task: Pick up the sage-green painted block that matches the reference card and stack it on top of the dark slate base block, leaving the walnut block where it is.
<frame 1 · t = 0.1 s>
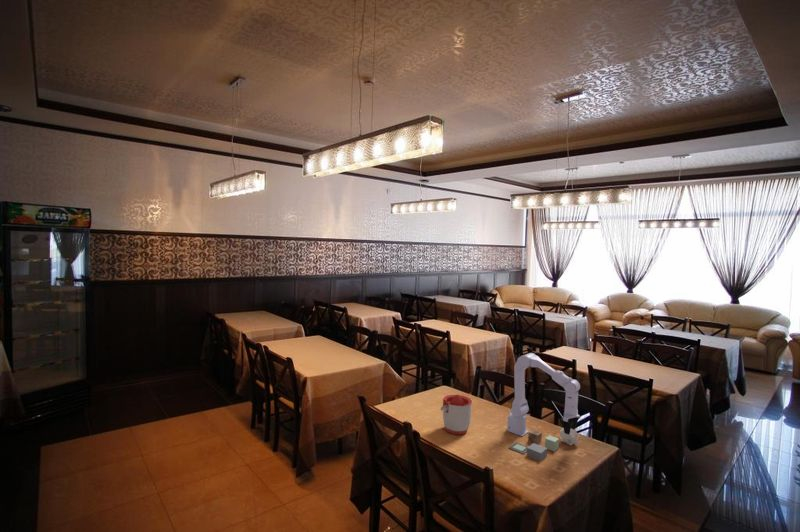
hand: (569, 431, 196), 10 cm above the table, fingers open, 7 cm apart
slate base: (536, 456, 191), on the table
grey rock: (568, 443, 205), on the table
sage block: (551, 448, 199), on the table
reference card: (519, 448, 197), on the table
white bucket: (454, 430, 215), on the table
walnut block: (534, 441, 205), on the table
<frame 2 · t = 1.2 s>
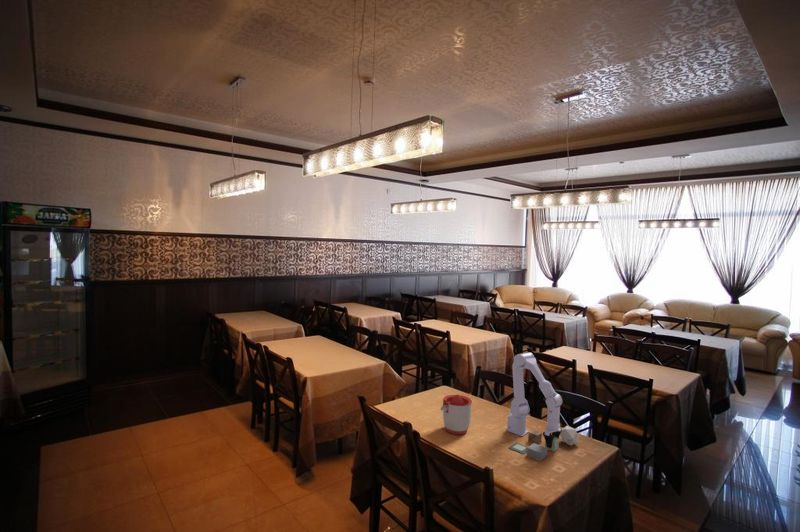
hand: (551, 444, 199), 2 cm above the table, fingers open, 7 cm apart
nothing on the table moved.
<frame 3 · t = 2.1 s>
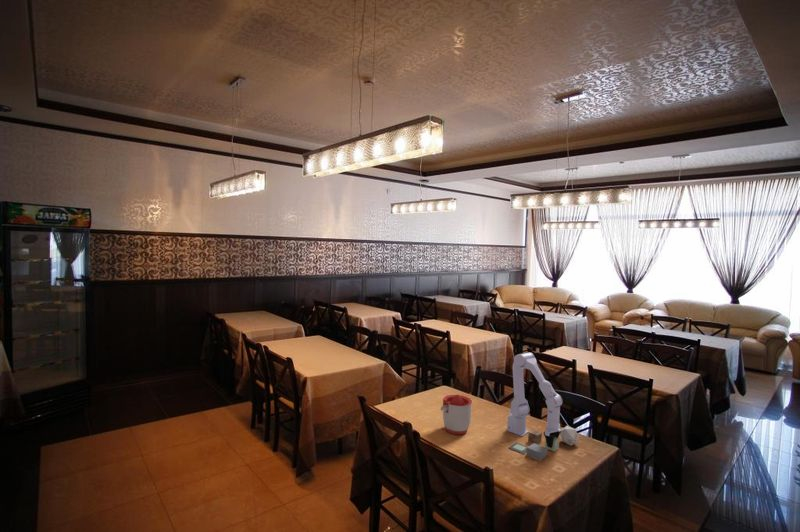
hand: (551, 445, 199), 1 cm above the table, fingers closed on sage block, 5 cm apart
sage block: (551, 447, 199), on the table, touching gripper
everything else where it was.
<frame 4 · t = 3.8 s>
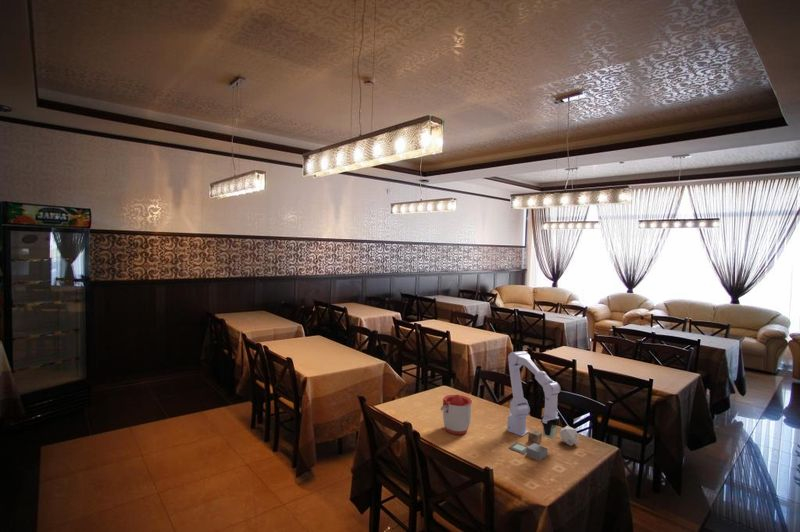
hand: (549, 433, 197), 8 cm above the table, fingers closed on sage block, 5 cm apart
sage block: (549, 435, 197), point 7 cm above the table, touching gripper
everything else where it was.
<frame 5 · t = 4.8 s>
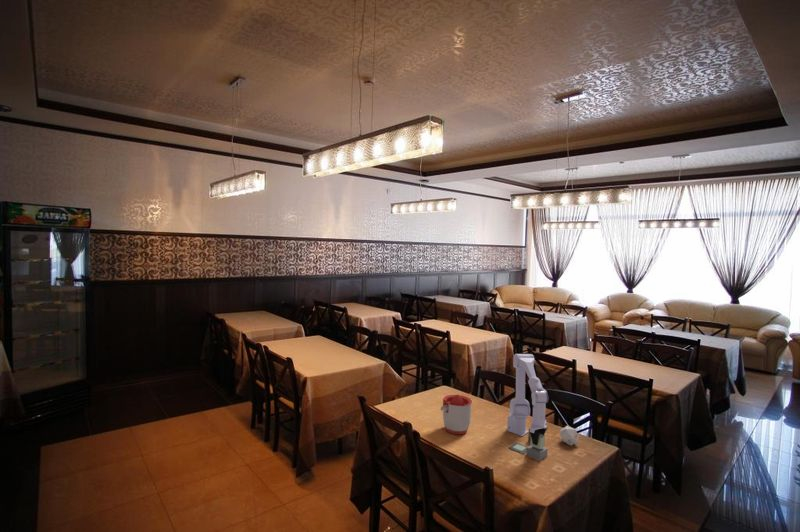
hand: (537, 442, 191), 6 cm above the table, fingers closed on sage block, 5 cm apart
sage block: (537, 445, 190), point 5 cm above the table, touching gripper
everything else where it was.
when the fingers open (6 cm above the table, at t = 5.7 s): sage block drops 1 cm, resting on slate base.
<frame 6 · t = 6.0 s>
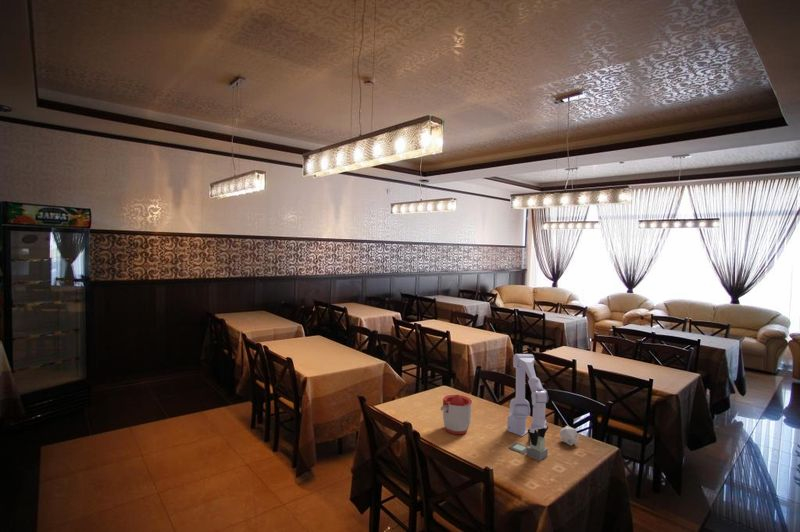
hand: (537, 442, 191), 6 cm above the table, fingers open, 7 cm apart
slate base: (536, 456, 191), on the table, touching sage block
sage block: (537, 448, 190), point 4 cm above the table, touching slate base
everything else where it was.
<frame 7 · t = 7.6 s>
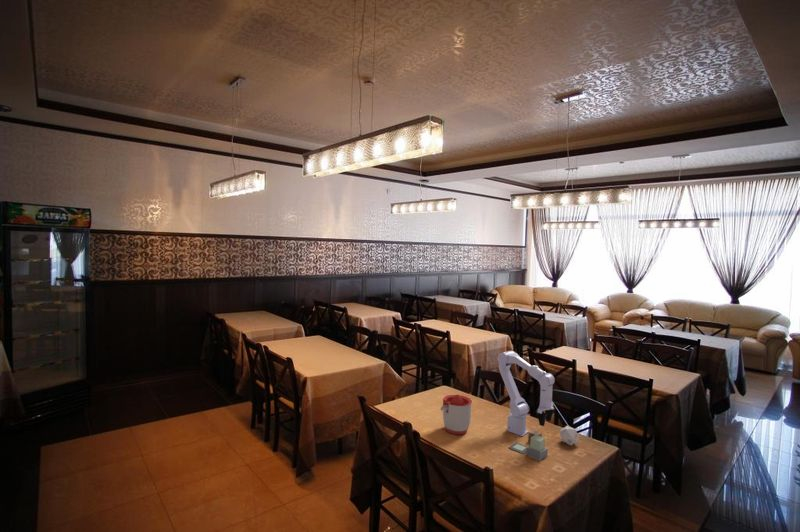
hand: (545, 423, 204), 10 cm above the table, fingers open, 7 cm apart
slate base: (536, 456, 191), on the table
sage block: (537, 448, 191), point 4 cm above the table
everything else where it was.
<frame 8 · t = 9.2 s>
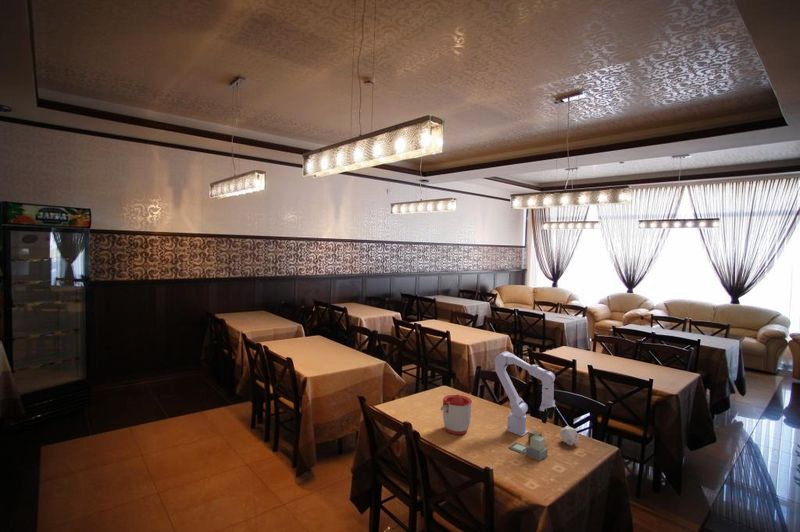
hand: (547, 420, 207), 10 cm above the table, fingers open, 7 cm apart
slate base: (536, 456, 191), on the table, touching sage block
sage block: (537, 447, 191), point 4 cm above the table, touching slate base
everything else where it was.
at the end: sage block 0.3 cm off-centre on the slate base, point 4.0 cm above the slate base's base; sage block tilted 0°; walnut block moved 0.1 cm from its start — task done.
